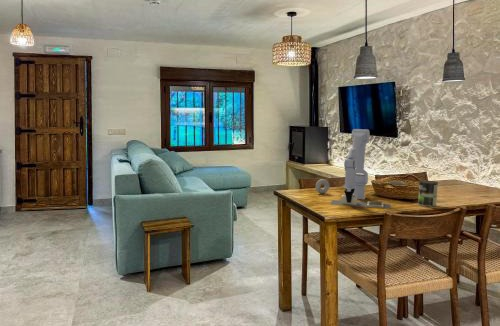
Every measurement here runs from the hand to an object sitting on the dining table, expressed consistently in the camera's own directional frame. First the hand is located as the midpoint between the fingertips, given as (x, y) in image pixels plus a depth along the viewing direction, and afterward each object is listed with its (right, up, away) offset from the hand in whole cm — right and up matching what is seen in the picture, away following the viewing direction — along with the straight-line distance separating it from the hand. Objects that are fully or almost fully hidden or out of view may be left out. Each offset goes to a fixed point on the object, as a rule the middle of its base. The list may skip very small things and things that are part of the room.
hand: (349, 201), depth 252 cm
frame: (+14, -2, -4) cm, 15 cm away
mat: (+6, -2, -2) cm, 7 cm away
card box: (0, -1, 0) cm, 1 cm away
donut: (-11, +2, +32) cm, 34 cm away
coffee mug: (+35, 0, +22) cm, 41 cm away
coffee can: (+47, -2, 0) cm, 47 cm away
